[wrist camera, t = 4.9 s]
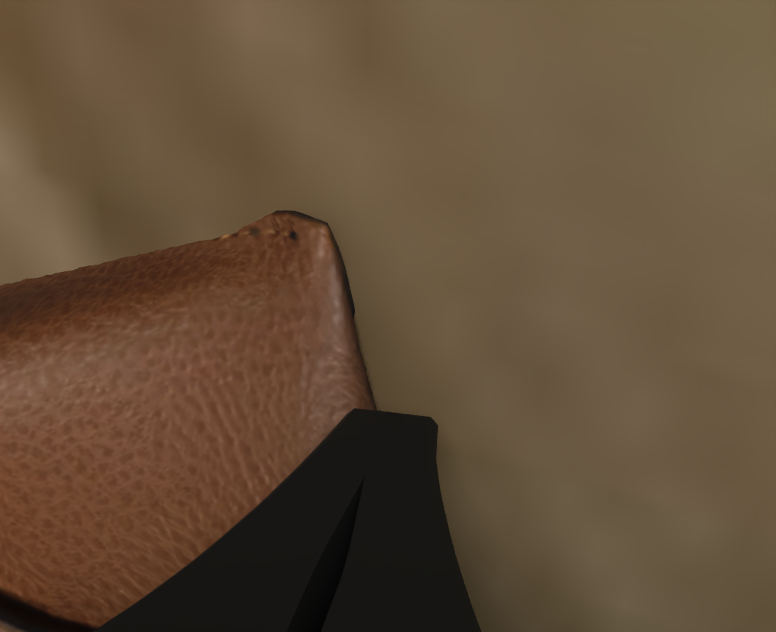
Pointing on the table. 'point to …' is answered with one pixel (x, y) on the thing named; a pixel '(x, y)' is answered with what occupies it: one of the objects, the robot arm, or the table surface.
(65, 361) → the sunglasses case
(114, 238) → the table surface
